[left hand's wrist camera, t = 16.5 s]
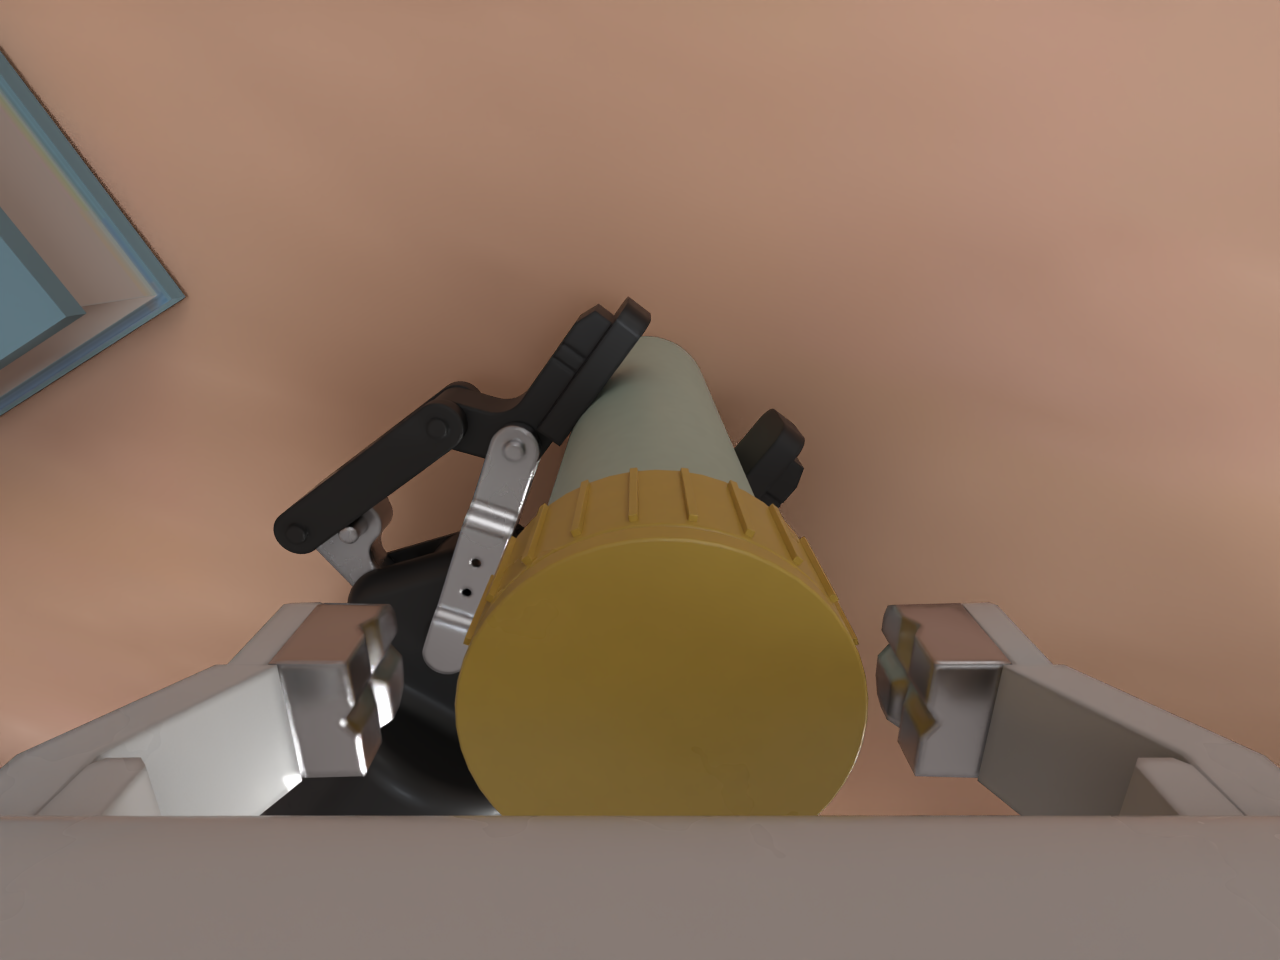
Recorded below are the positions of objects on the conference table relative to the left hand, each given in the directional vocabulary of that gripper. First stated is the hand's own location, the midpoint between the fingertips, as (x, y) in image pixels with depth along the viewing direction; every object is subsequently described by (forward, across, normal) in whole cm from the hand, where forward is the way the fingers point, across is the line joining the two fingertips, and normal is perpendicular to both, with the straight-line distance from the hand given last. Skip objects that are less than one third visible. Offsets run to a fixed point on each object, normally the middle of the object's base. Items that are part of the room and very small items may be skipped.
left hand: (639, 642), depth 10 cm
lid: (-2, 0, 0) cm, 2 cm away
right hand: (+8, -2, -2) cm, 9 cm away
